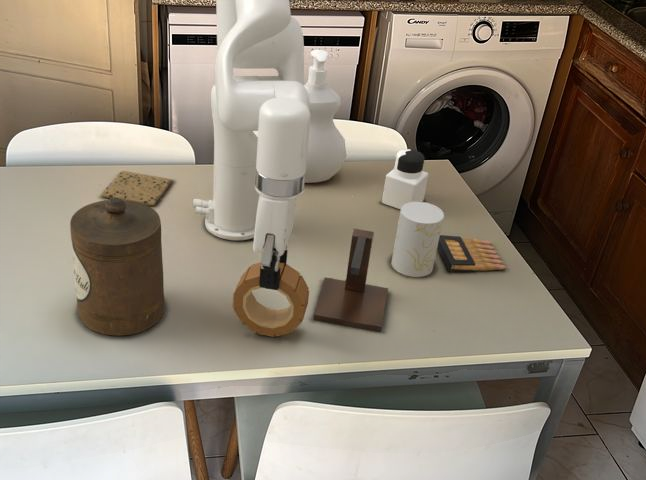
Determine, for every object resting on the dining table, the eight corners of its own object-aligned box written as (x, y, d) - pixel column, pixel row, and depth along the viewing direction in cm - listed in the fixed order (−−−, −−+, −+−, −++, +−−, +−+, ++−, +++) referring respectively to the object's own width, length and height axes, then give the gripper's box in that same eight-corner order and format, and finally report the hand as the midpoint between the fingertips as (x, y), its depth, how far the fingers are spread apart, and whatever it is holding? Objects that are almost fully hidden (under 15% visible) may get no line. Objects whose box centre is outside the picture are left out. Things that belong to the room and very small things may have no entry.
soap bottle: (275, 188, 182) (284, 61, 165) (268, 165, 191) (276, 42, 175) (348, 188, 185) (364, 62, 168) (337, 164, 194) (352, 43, 177)
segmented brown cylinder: (231, 329, 139) (234, 271, 132) (238, 313, 143) (241, 255, 136) (300, 341, 137) (306, 283, 130) (305, 324, 141) (311, 267, 134)
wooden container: (88, 282, 148) (79, 175, 136) (169, 288, 148) (168, 181, 136) (68, 333, 136) (57, 220, 124) (157, 339, 136) (154, 227, 124)
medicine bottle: (423, 201, 182) (433, 152, 175) (410, 213, 177) (419, 164, 170) (395, 191, 185) (403, 143, 178) (381, 203, 180) (388, 154, 173)
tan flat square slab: (173, 181, 182) (173, 177, 181) (154, 206, 172) (154, 202, 171) (122, 172, 184) (122, 168, 183) (101, 197, 174) (100, 193, 173)
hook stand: (312, 323, 143) (319, 261, 135) (323, 282, 153) (331, 223, 146) (380, 335, 141) (391, 273, 134) (387, 293, 152) (397, 233, 144)
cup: (407, 280, 156) (418, 227, 149) (383, 259, 161) (392, 206, 154) (441, 271, 159) (452, 218, 152) (416, 250, 165) (426, 198, 158)
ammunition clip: (448, 271, 159) (507, 273, 160) (451, 263, 158) (509, 266, 159) (434, 242, 167) (489, 244, 169) (436, 234, 166) (492, 237, 168)
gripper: (267, 153, 131) (261, 248, 142) (242, 202, 118) (238, 303, 128) (313, 160, 130) (304, 255, 141) (293, 210, 117) (284, 312, 127)
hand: (272, 277), depth 134 cm, fingers closed on segmented brown cylinder, 4 cm apart
